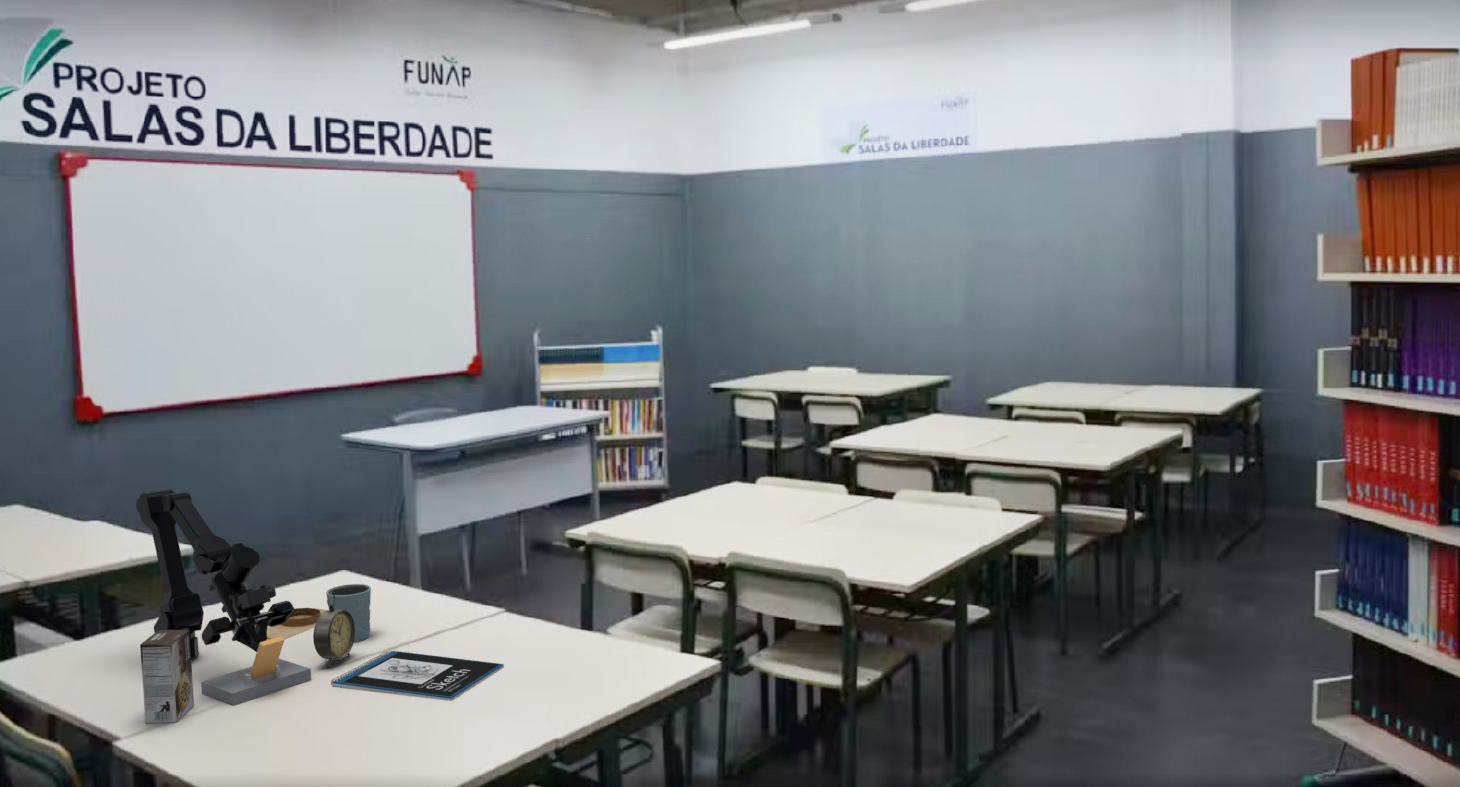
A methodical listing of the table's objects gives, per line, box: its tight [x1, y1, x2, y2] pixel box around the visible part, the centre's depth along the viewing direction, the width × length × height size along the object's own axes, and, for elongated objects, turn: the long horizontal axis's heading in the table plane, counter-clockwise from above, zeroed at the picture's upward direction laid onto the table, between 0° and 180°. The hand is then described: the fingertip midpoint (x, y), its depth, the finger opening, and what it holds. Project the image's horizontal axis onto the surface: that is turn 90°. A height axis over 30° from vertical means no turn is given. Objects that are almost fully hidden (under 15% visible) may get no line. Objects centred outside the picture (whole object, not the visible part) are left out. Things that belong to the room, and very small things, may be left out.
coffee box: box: [139, 630, 195, 724], centre depth 228 cm, size 9×6×16 cm
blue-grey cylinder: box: [325, 583, 372, 643], centre depth 276 cm, size 10×10×12 cm
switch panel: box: [200, 658, 312, 706], centre depth 244 cm, size 12×18×4 cm, turn 144°
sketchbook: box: [330, 649, 505, 702], centre depth 249 cm, size 22×30×2 cm
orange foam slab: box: [250, 636, 285, 679], centre depth 241 cm, size 1×5×9 cm
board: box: [267, 607, 328, 640], centre depth 289 cm, size 25×15×3 cm, turn 157°
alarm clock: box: [312, 592, 355, 669], centre depth 258 cm, size 11×5×16 cm, turn 168°
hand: (265, 655), depth 241 cm, fingers closed, pressing on orange foam slab
